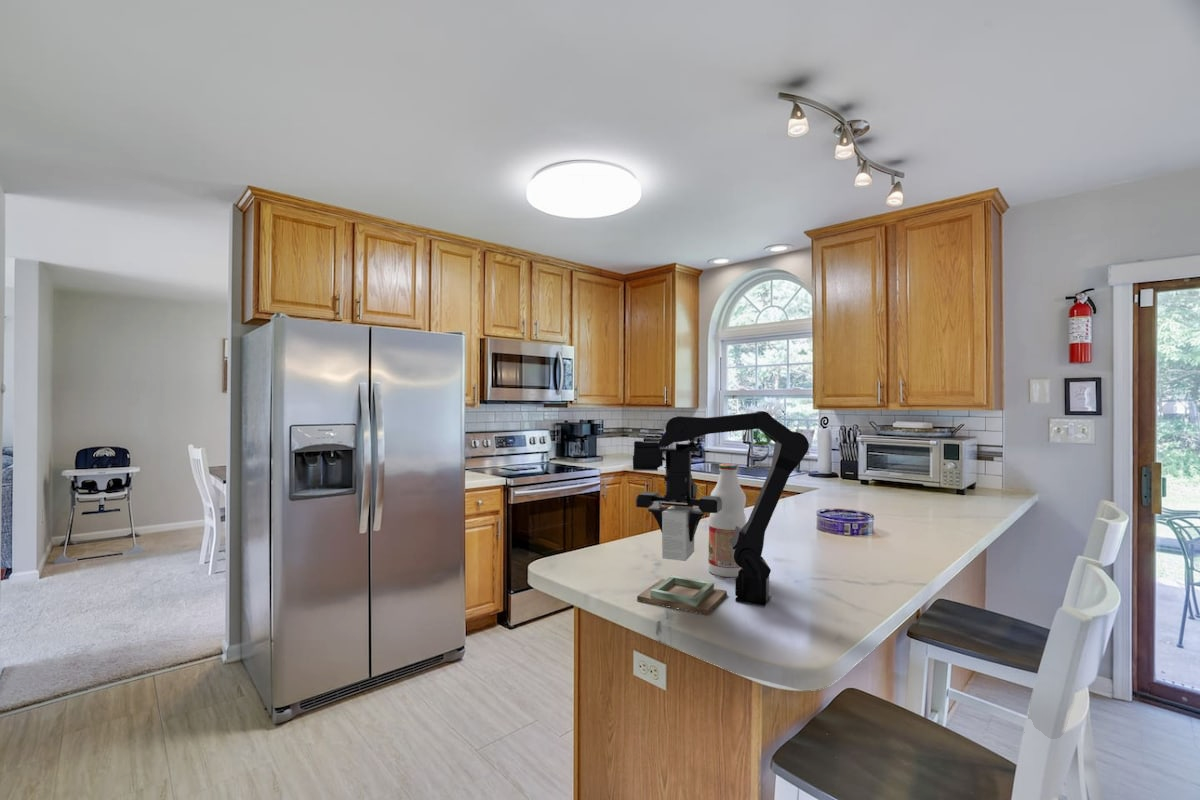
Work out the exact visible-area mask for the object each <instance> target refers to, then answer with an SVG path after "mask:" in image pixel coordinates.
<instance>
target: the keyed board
mask: <svg viewBox="0 0 1200 800" xmlns="http://www.w3.org/2000/svg"><path fill="white" fill-rule="evenodd" d="M727 596H728V590H724V589H718V588H715V582H712V581H711V582H710V581H704V580H699V579H693V578H688V577H683V576H679V575H678V576H677V575H670V576H669V577H667V578H661V579H659V580H658V581H657V582H654V584H652V585H651V586H649V587H648V588H647V589H645V590H644V591H642V592H641V593H639V594H638V595H637V597H636V599H637V600H640V601H639V602H642V601H645V602H644V603H647V602H649V603H648V604H652V603H654V604H653V605H656V604H659V605H658V606H661V605H664V606H663V607H666V606H670V607H669V608H671V607H674V608H673V609H675V608H679V609H678V610H680V609H683V610H682V611H685V610H687V611H686V612H690V611H692V612H691V613H694V612H697V613H696V614H699V613H701V614H700V615H704V614H706V616H708V615H709V614H710V613H711V612H713V610H714V609H716V607H717V606H718V605H719V604H720V603H721V602H722V601H723V599H725V598H726V597H727Z"/></svg>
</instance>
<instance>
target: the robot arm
mask: <svg viewBox="0 0 1200 800" xmlns="http://www.w3.org/2000/svg"><path fill="white" fill-rule="evenodd" d="M748 430H749V431H750V430H751V431H752V430H759V431H760V432H762V434H764V435H765V436H766V437H768V438H769V440H771V441H773V442H774V447H773V452H772V459H771V461H772V462H771V466H770V469H769V471H768V473H767V475H766V478H765V480H764V483H763V485H762V488H761V490H760V492H759V494H758V496H757V499H756V501H755V503H754V506H753V508H752V511H751V513H750V514H749V516H748V517H749V518H748V520H747V521H746V524H745V525H744V527H743V528H742V529H741V528H739V527H738V526H736V528H735V531H734V535H733V537H732V538H731V539H730V540H729V542H730V544H731V546H730V550H731V553H732V556H733V558H734V560H735V562H736V564H737V565H738V566H739V567H741V569H740V570H739V571H738V576H737V577H735V596H736V597H735V600H734V601H735V602H738V603H739V602H740V603H745V604H748V605H754V606H759V607H766V605H767V604H768V603H769V602H770V600H771V599H772V595H770V574H771V572H772V571H771V568H770V567H769V565H768V563H767V562H766V560H765V559H764V557H763V556H762V554H763V549H764V541H765V535H766V530H767V528H768V526H769V524H770V521H771V519H772V516H773V515H774V512H775V509H776V507H777V505H778V503H779V500H780V498H781V497H782V494H783V491H784V489H785V487H786V485H787V483H788V480H789V477H790V475H791V473H793V471H794V470H795V469H796V468H797V467H798V466H799V464H800V463H801V462H802V461H803V459H804V458H805V456H806V454H808V452H809V448H810V442H809V440H808V438H807V437H806V436H805V435H804V434H803V433H801V432H798V431H793V430H791V429H789V428H788V427H787V426H786V425H784V424H782V423H781V422H780V421H778V420H777V419H775V418H774V417H772V416H771V414H770V413H769V412H767V411H761V410H758V411H755V412H750V413H748V412H747V413H739V414H737V413H735V414H730V415H729V414H728V415H719V416H709V417H703V416H702V417H701V416H687V415H685V416H684V415H675V416H672V417H670V418H669V419H668V420H667V421H666V424H665V431H664V433H663V434H662V435H661V436H660V437H659V439H658V441H643V440H634V441H633V442H634V443H633V455H632V470H633V471H638V472H641V471H644V472H648V471H650V472H653V471H654V472H658V470H659V469H658V468H660V467H663V463H664V462H663V459H664V458H663V455H664V454H663V452H665V476H664V477H663V480H664V482H665V494H664V495H663V496H661V495H660V492H654V491H643V492H641V493H638V495H637V496H636V497H635V507H636V508H646V509H647V511H648V512H650V513H652V516H653V517H654V519H655V520H656V522H657V525H658V527H659V529H660V532H661V533H662V512H663V511H665V510H666V509H668V506H681V507H693V509H694V511H692V512H691V513H690V531H689V537H690V542H692V541H693V538H694V539H695V535H696V532H697V529H698V526H699V523H700V521H701V519H702V517H704V516H705V515H707V514H708V513H709V514H710V513H718V512H719V511H720V510H721V509H722V500H721V498H720V497H717V496H710V495H704V496H701V497H700V498H697V494H698V493H697V491H698V485H697V484H696V483H695V482H693V475H692V452H695V453H698V452H700V448H699V447H698V446H697V445H696V444H695V442H694V440H692V439H696V438H699V437H702V436H705V435H710V434H720V433H730V432H738V431H748ZM689 440H690V441H689ZM687 441H689V442H688V443H682V442H687ZM676 442H677V443H676ZM674 443H675V447H669V446H671V445H672V444H674Z"/></svg>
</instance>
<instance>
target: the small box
mask: <svg viewBox="0 0 1200 800" xmlns="http://www.w3.org/2000/svg"><path fill="white" fill-rule="evenodd" d="M692 511H694V509H693V507H685V506H672V505H670V507H667V509H666V510H665V511H663V512H662V532H661V535H662V536H661V537H662V538H661V539H662V540H661V541H662V542H661V543H662V544H661V548H662V549H661V550H662V553H661V554H662V556H661V558H662V559H664V560H674V561H684V562H687V560H688V559H689V558H690V557H691V556H692V555H693V553H694V552H695V537H694V538H693V541H692V542H690V537H689V531H690V513H691V512H692Z"/></svg>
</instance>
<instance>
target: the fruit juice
mask: <svg viewBox="0 0 1200 800" xmlns="http://www.w3.org/2000/svg"><path fill="white" fill-rule="evenodd" d="M718 470H719V476H718V479H717V482H716V484H715V487H714V488H713V489H712V491H711V492H710V495H709V496H717V497H720V498H721V500H722V509H721V510H720V511H719V512H718V513H709V519H708V559H707V560H708V563H707V564H708V571H709V572H710V573H711V575H716V576H718V577H723V578H724V577H725V578H736V577H737V576H738V571H739V570H740V569H741V567H739V566H738V565H737V564H736V562H735V560H734V558H733V556H732V553H731V550H730V546H731V544H730V542H729V540H730V539H731V538H732V537H733V535H734V531H735V528H736V526H738V527H739V528H741V529H742V528H743V527H744V525H745V524H746V523H747V517H746V513H745V507H746V505H747V504H746V503H747V496H746V493H745V491H744V490H743V489H742V487H741V484H740V482H739V478H738V472H739V465H738V464H734V463H720V464H718Z"/></svg>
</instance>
